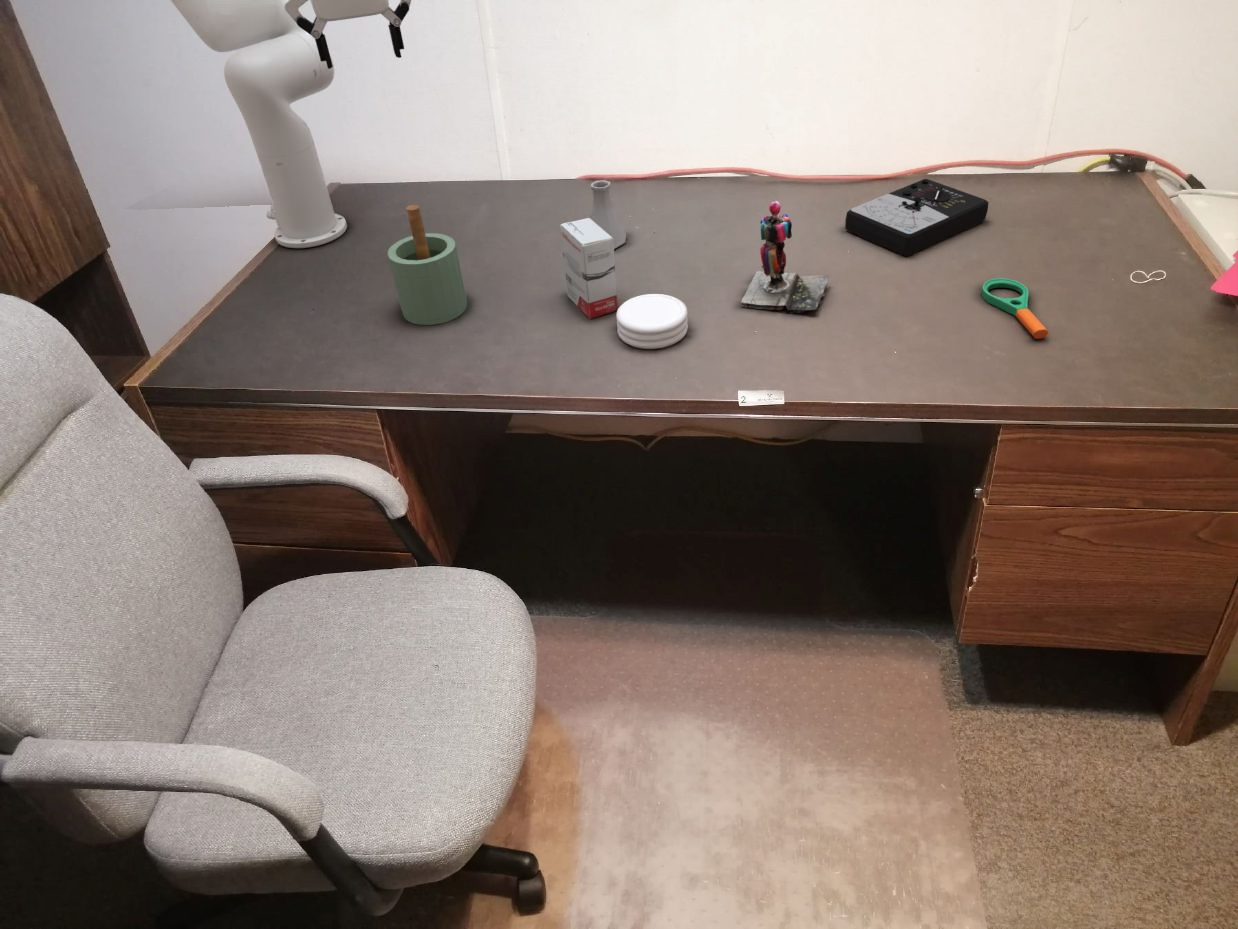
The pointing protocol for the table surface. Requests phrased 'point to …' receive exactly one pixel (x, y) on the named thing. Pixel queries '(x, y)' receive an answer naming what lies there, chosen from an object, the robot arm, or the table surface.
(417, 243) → the wooden stamp
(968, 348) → the table surface
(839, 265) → the table surface
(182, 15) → the robot arm
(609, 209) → the flask
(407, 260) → the jar
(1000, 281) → the magnifying glass
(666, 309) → the white round disc stack
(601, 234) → the ink box
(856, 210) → the multimeter
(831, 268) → the table surface
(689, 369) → the table surface
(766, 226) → the statue
